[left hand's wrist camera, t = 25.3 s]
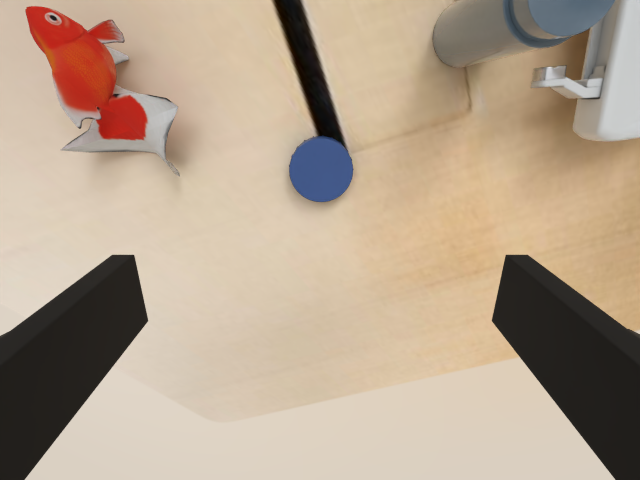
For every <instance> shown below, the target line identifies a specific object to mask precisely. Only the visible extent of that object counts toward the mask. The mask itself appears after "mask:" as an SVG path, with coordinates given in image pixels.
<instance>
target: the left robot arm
mask: <svg viewBox="0 0 640 480" xmlns="http://www.w3.org/2000/svg"><path fill="white" fill-rule="evenodd" d="M147 322H148V318H147V313H146V308H145V304H144V299H143V294H142V290H141V285H140V280H139V276H138V271H137V266H136V261H135V257H134V255H112V256H110V257H109V258H108V259H106V260H105V261H104V262H102V263H101V264H100V265H98V266H97V267H96V268H94V269H93V270H91V271H90V272H89V273H87V274H86V275H85V276H83V277H82V278H81V279H79V280H78V281H77V282H75V283H74V284H73V285H71V286H70V287H69V288H67V289H66V290H65V291H63V292H62V293H61V294H59V295H58V296H57V297H55V298H54V299H53V300H51V301H50V302H49V303H47V304H46V305H45V306H43V307H42V308H40V309H39V310H38V311H36V312H35V313H34V314H32V315H31V316H30V317H28V318H27V319H26V320H24V321H23V322H22V323H20V324H19V325H18V326H16V327H15V328H14V329H12V330H11V331H9V332H7V333H5V334H3V335H1V336H0V480H25V478H26V477H27V476H28V474H29V473H30V472H31V471H32V469H33V468H34V467H35V465H36V464H37V463H38V462H39V460H40V459H41V458H42V457H43V455H44V454H45V453H46V451H47V450H48V449H49V448H50V446H51V445H52V444H53V442H54V441H55V440H56V438H57V437H58V436H59V435H60V433H61V432H62V431H63V430H64V428H65V427H66V426H67V424H68V423H69V422H70V421H71V419H72V418H73V417H74V415H75V414H76V413H77V411H78V410H79V409H80V408H81V406H82V405H83V404H84V403H85V401H86V400H87V399H88V397H89V396H90V395H91V394H92V392H93V391H94V390H95V388H96V387H97V386H98V385H99V383H100V382H101V381H102V380H103V378H104V377H105V376H106V374H107V373H108V372H109V371H110V369H111V368H112V367H113V365H114V364H115V363H116V362H117V360H118V359H119V358H120V356H121V355H122V354H123V353H124V351H125V350H126V349H127V347H128V346H129V345H130V344H131V342H132V341H133V340H134V338H135V337H136V336H137V335H138V333H139V332H140V331H141V329H142V328H143V327H144V326H145V324H146V323H147ZM492 322H493V323H494V324H495V326H496V327H497V328H498V329H499V331H500V332H501V333H502V335H503V336H504V337H505V338H506V340H507V341H508V342H509V344H510V345H511V346H512V347H513V349H514V350H515V351H516V353H517V354H518V355H519V356H520V358H521V359H522V360H523V362H524V363H525V364H526V365H527V367H528V368H529V369H530V371H531V372H532V373H533V374H534V376H535V377H536V378H537V380H538V381H539V382H540V383H541V385H542V386H543V387H544V388H545V390H546V391H547V392H548V394H549V395H550V396H551V397H552V399H553V400H554V401H555V402H556V404H557V405H558V406H559V408H560V409H561V410H562V412H563V413H564V414H565V415H566V417H567V418H568V419H569V420H570V422H571V423H572V424H573V426H574V427H575V428H576V430H577V431H578V432H579V433H580V435H581V436H582V437H583V439H584V440H585V441H586V442H587V444H588V445H589V446H590V448H591V449H592V450H593V451H594V453H595V454H596V455H597V457H598V458H599V459H600V460H601V462H602V463H603V464H604V466H605V467H606V468H607V469H608V471H609V472H610V473H611V475H612V476H613V477H614V478H615V480H640V334H638V333H636V332H634V331H632V330H630V329H626V328H625V327H624V326H622V325H621V324H620V323H618V322H617V321H616V320H614V319H613V318H612V317H610V316H609V315H608V314H606V313H605V312H604V311H602V310H601V309H600V308H598V307H597V306H595V305H594V304H593V303H591V302H590V301H589V300H587V299H586V298H585V297H583V296H582V295H581V294H579V293H578V292H577V291H575V290H574V289H573V288H571V287H570V286H569V285H567V284H566V283H565V282H563V281H562V280H561V279H559V278H558V277H557V276H555V275H554V274H553V273H551V272H550V271H549V270H547V269H546V268H544V267H543V266H542V265H540V264H539V263H538V262H536V261H535V260H534V259H532V258H531V257H530V256H528V255H506V257H505V261H504V266H503V271H502V276H501V280H500V285H499V290H498V294H497V299H496V304H495V308H494V313H493V318H492Z"/></svg>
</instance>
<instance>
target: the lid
mask: <svg viewBox="0 0 640 480" xmlns="http://www.w3.org/2000/svg"><path fill="white" fill-rule="evenodd" d="M289 167H290V168H289V171H290V178H291V181H292V184H293V186H294V187H295V189H296V190H297V191H298V192H299V193H300V194H301V195H302V196H303V197H305V198H307V199H309V200H312V201H316V202H326V201H330V200H333V199H335V198H337V197H339V196H340V195H341V194H343V193H344V192H345V190H346V189H347V188H348V186H349V184H350V182H351V179H352V175H353V165H352V159H351V157H350V156H349V154H348V151H347V149H345V148H344V146H343V145H342V144H341V142H338V141H336V140H335V139H333V138H332V137H331V138H329V137H325V136H318V137H314V136H313V138H310V139H308V140H306V141H305V140H304V142H303V143H302V144H301V145H300V146H299V147H297V148H296V151H295V153H294V154H293V155H292V159H291V162H290V165H289Z"/></svg>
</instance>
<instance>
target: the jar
mask: <svg viewBox="0 0 640 480" xmlns="http://www.w3.org/2000/svg"><path fill="white" fill-rule="evenodd" d="M614 2H615V0H457V1H455V2H454V3H452V4H451V5H450V6H448V7H447V8H446V9H445V10H444V11H443V12H442V14H441V15H440V16H439V18H438V20H437V22H436V25H435V28H434V32H433V44H434V49H435V52H436V54H437V55H438V57H439V58H440V59H441V61H443V62H444V63H445V64H447V65H449V66H451V67H458V68H459V67H466V66H470V65H475V64H479V63H483V62H488V61H492V60H496V59H500V58H505V57H509V56H513V55H518V54H522V53H526V52H531V51H535V50H539V49H544V48H548V47H552V46H555V45H558V44H560V43H562V42H564V41H566V40H567V39H569V38H570V37H572V36H573V35H576V34H579V33H582V32H584V31H586V30H588V29H589V28H591V27H592V26H594V25H595V24H596V23H597V22H599V21H600V20H601V19H602V18H603V17H604V16H605V14H606V13H607V12H608V11H609V10H610V8H611V7H612V5H613V4H614Z"/></svg>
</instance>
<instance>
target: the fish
mask: <svg viewBox="0 0 640 480" xmlns="http://www.w3.org/2000/svg"><path fill="white" fill-rule="evenodd" d="M26 15H27V19H28V23H29V27H30V32H31V34H32V36H33V39H34V40H35V42H36V44H37V45H38V46H39V48H40V49H41V50H42V51H43V52H44V53H45V54H46V56H47V59H48V61H49V63H50V66H51V68H52V75H53V81H54V85H55V89H56V93H57V96H58V99H59V102H60V105H61V107H62V108H63V110H64V111H65V113H66V114H67V115H68V117H69V118H70V119H71V120H72V121H73V122H74V124H75V125H76V126H77V127H78V128H79V129H80V128H81V125H82V121H83V119H86V118H90V119H94V120H93V121H92V123H91V125H90V127H89V130H88V131H86V132H85V133H83V134H82V135H80V136H79V137H77V138H76V139H74V140H73V141H71V142H70V143H69V144H67V145H66V146H65V147H63V148H62V149H61V150H65V151H78V152H128V151H140V152H152V153H156V154H158V155H159V156H160V157H161V158H162V159H163V161H164V162H165V163H166V164H167V165H168V166H169V167H170V168H171V169H172V171H173V172H174V173H175V174H176V175H178V176H180V175H179V172H178V171H177V169H176V168H175V167H174V165H173V164H172V163H171V162H169V161H168V160H166V151H165V146H166V141H167V136H168V132H169V129H170V127H171V124H172V122H173V119H174V117H175V114H176V112H177V109H178V106H176V105H175V104H174V103H172V102H171V101H170V100H168V99H167V98H163V97H157V96H152V95H146V94H138V93H135V92H132V91H129V90H126V89H124V88H121V87H119V86H118V85H116V84H115V83H116V67H115V65H117V64H119V63H121V62H123V61H127V60H128V59H129V57H128V56H127V55H125V54H123V53H121V52H119V51H116V50H114V49H112V48H110V47H107V46H105V45H104V43H112V42H121V43H123V42H124V37H123V34H122V32H121V31H120V30H119V29H118V28H117V26H116V25H115V23H114V21H113V20H107V21H104V22H102V23H100V24H98V25H97V26H95V27H93V28H92V29H90V30H89V31H87V30H85V29H84V28H83V26H82V25H80V24H78V23H77V22H75V21H73V20H72V19H70V18H68V17H67V16H65V15H63V14H61V13H59V12H58V11H56V10H52V9H49V8H45V7H38V6H32V7H27V9H26ZM96 107H97V108H96Z"/></svg>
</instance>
